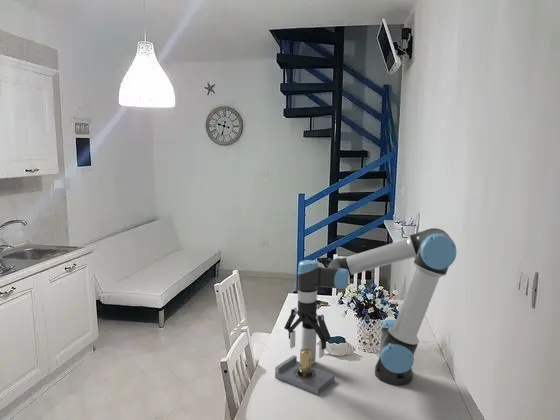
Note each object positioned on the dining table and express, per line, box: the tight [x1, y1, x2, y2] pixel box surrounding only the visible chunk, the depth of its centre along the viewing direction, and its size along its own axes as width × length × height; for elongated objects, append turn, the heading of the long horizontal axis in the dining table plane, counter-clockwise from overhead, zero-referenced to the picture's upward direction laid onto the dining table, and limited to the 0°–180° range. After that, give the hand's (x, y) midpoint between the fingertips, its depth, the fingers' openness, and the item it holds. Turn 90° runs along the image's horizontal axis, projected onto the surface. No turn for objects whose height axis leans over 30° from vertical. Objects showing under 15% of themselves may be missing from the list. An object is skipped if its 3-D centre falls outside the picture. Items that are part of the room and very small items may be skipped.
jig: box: [274, 354, 336, 396], centre depth 171 cm, size 20×13×4 cm, turn 54°
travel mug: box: [300, 318, 319, 367], centre depth 184 cm, size 6×7×20 cm
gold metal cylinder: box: [299, 348, 311, 377], centre depth 171 cm, size 4×4×12 cm
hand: (306, 351), depth 170 cm, fingers open, 13 cm apart
